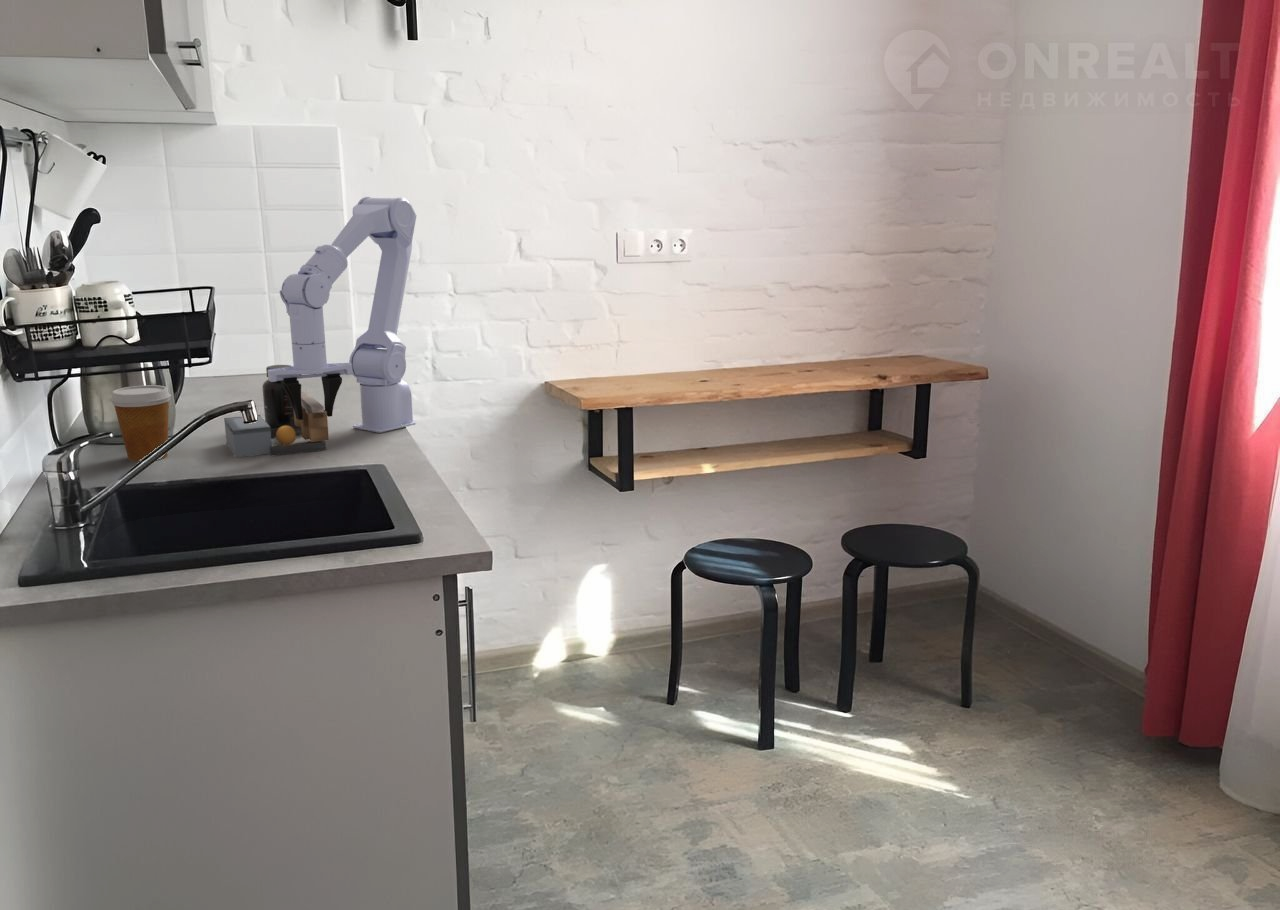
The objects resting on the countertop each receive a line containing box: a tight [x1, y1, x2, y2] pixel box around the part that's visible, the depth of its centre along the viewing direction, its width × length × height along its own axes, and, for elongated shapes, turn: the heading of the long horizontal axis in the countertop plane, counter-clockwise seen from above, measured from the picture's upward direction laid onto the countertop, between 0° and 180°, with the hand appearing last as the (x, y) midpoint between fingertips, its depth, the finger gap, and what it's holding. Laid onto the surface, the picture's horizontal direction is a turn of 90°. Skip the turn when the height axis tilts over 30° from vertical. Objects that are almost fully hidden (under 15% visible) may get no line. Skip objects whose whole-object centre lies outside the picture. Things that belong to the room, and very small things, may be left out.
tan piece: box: [293, 391, 330, 442], centre depth 198 cm, size 3×16×7 cm, turn 28°
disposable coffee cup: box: [110, 384, 172, 463], centre depth 186 cm, size 10×10×12 cm
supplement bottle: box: [261, 364, 296, 429], centre depth 209 cm, size 7×7×12 cm
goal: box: [223, 414, 273, 458], centre depth 193 cm, size 6×11×5 cm, turn 28°
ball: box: [276, 426, 297, 445], centre depth 196 cm, size 4×4×4 cm
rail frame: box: [269, 426, 327, 457], centre depth 197 cm, size 10×15×2 cm, turn 28°
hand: (314, 417), depth 194 cm, fingers open, 5 cm apart
